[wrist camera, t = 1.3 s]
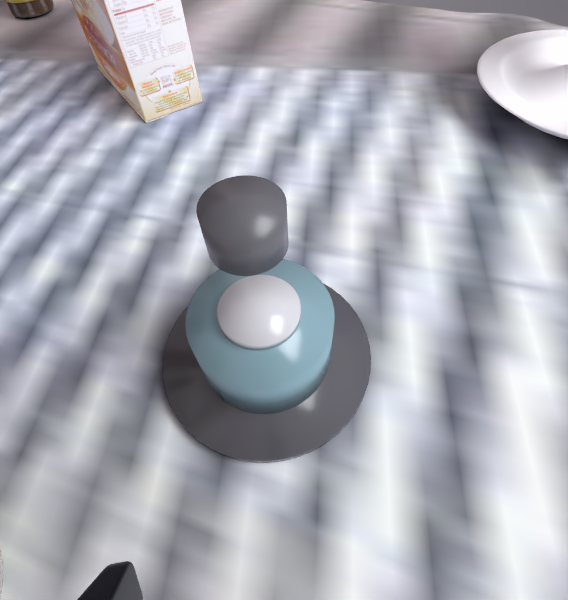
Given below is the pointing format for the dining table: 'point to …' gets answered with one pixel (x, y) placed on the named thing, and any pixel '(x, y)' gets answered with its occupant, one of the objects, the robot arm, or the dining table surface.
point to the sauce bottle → (29, 7)
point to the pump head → (244, 224)
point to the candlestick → (530, 78)
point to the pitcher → (1, 572)
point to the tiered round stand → (266, 364)
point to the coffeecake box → (143, 52)
